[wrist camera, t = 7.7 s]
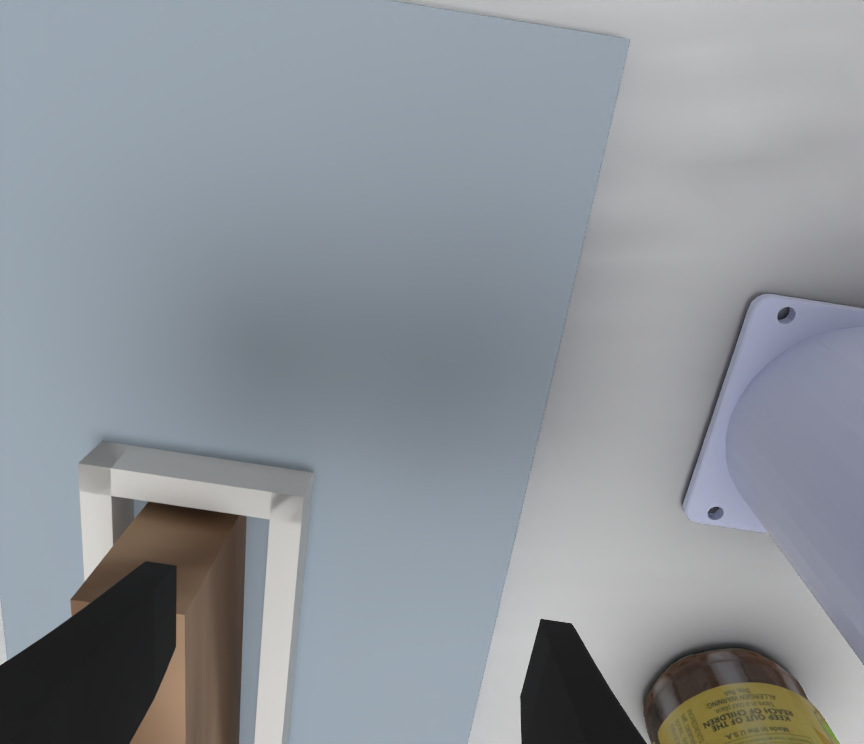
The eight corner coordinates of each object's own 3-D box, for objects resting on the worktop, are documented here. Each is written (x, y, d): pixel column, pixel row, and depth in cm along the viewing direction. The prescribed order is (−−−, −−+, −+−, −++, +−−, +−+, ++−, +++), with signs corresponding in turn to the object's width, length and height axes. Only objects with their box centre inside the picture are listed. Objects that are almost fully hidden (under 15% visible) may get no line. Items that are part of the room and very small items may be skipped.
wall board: (621, 42, 18) (645, 32, 16) (448, 804, 29) (447, 865, 27) (-48, -66, 18) (-125, -92, 15) (33, 745, 29) (-4, 801, 26)
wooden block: (247, 500, 23) (184, 614, 18) (238, 753, 27) (186, 904, 22) (158, 488, 23) (69, 599, 17) (164, 744, 27) (94, 892, 22)
